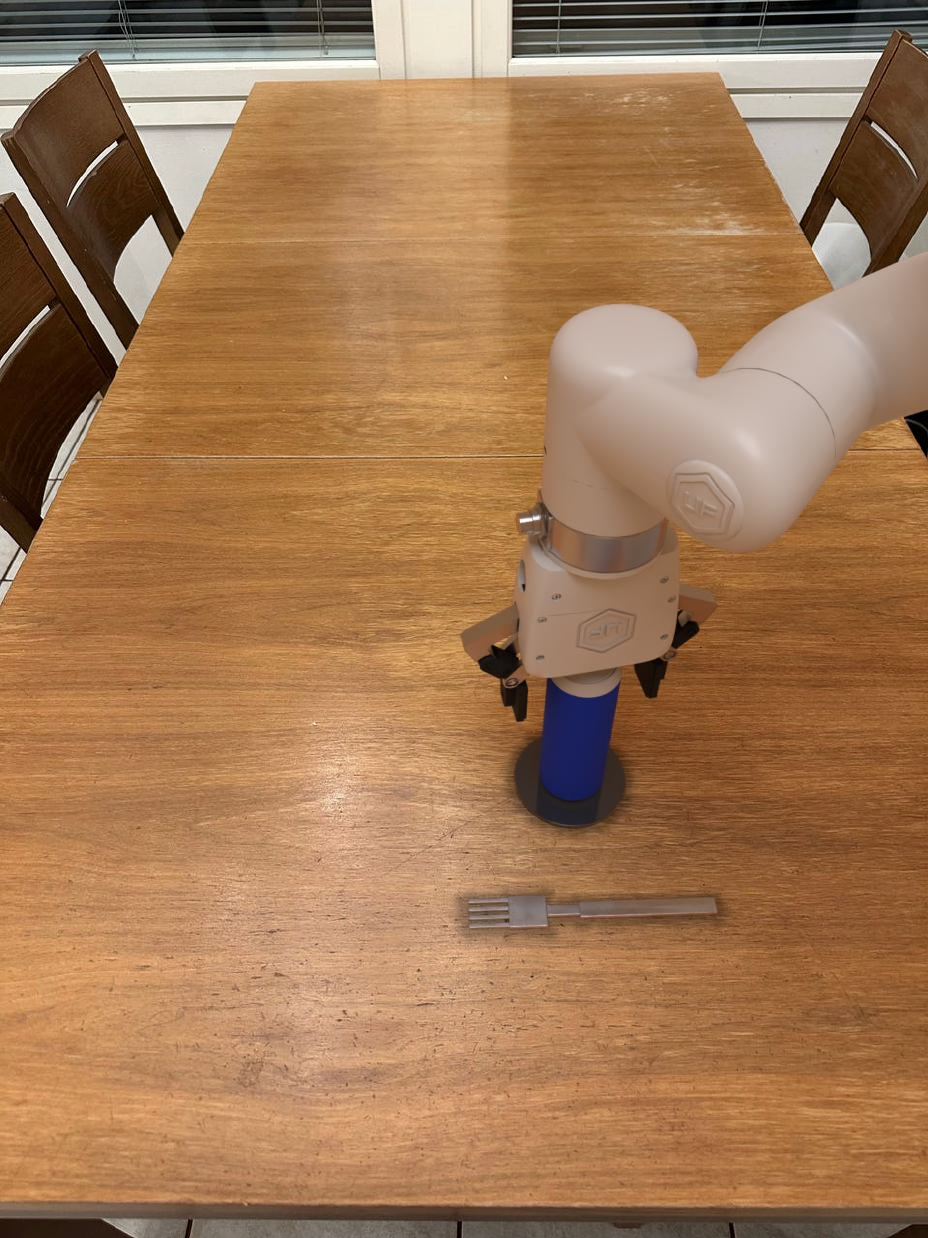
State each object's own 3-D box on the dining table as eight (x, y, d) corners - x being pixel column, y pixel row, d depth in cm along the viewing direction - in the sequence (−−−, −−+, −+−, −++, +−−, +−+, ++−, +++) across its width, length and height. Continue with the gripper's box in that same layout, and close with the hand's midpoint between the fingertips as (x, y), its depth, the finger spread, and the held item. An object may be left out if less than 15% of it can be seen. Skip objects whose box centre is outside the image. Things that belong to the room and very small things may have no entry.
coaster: (641, 759, 78) (642, 757, 78) (598, 847, 73) (599, 844, 72) (542, 718, 81) (543, 715, 81) (494, 799, 76) (494, 796, 75)
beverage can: (611, 763, 77) (633, 645, 66) (589, 814, 74) (608, 698, 63) (553, 741, 79) (564, 622, 68) (529, 790, 76) (537, 673, 64)
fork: (711, 891, 70) (712, 889, 70) (718, 922, 69) (719, 920, 68) (468, 899, 70) (468, 897, 70) (469, 930, 68) (469, 928, 68)
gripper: (472, 585, 52) (474, 758, 65) (767, 538, 54) (713, 715, 67) (447, 497, 57) (453, 674, 70) (718, 458, 59) (676, 637, 72)
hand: (581, 694), depth 68 cm, fingers open, 9 cm apart
